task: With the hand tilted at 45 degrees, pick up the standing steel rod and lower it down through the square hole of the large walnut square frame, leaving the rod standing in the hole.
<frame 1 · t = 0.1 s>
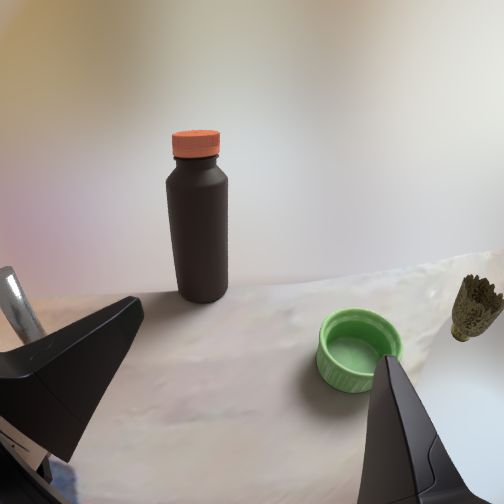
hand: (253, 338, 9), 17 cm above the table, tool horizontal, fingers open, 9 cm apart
steel rod: (56, 369, 22), on the table
bottle: (203, 288, 36), on the table
ramekin: (350, 364, 27), on the table
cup: (458, 335, 29), on the table
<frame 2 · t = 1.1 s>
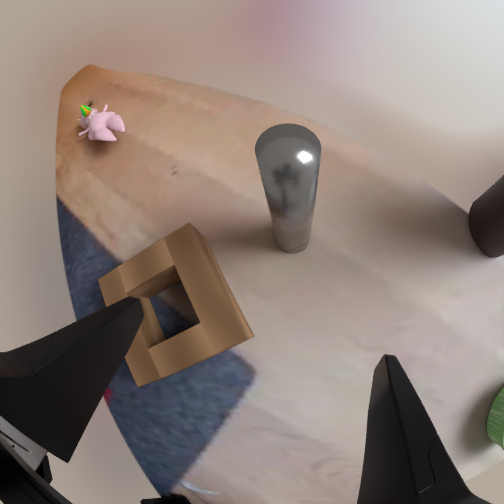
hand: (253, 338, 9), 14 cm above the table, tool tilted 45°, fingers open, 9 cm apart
steel rod: (292, 236, 24), on the table
bottle: (487, 228, 21), on the table
walnut square frame: (180, 310, 24), on the table
rabbit figure: (106, 131, 33), on the table
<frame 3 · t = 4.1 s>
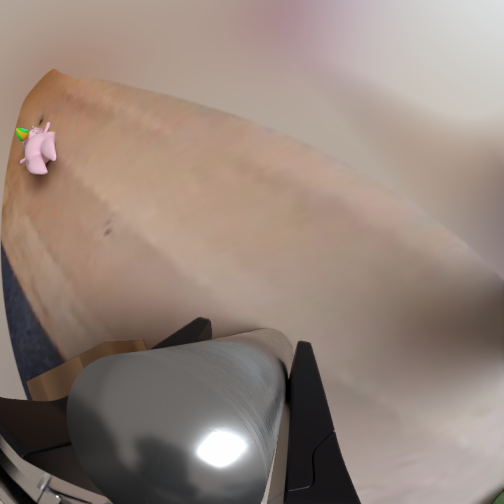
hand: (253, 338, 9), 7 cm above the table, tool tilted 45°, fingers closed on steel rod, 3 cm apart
steel rod: (266, 353, 15), on the table, touching gripper
walnut square frame: (122, 424, 15), on the table
rabbit figure: (49, 156, 24), on the table
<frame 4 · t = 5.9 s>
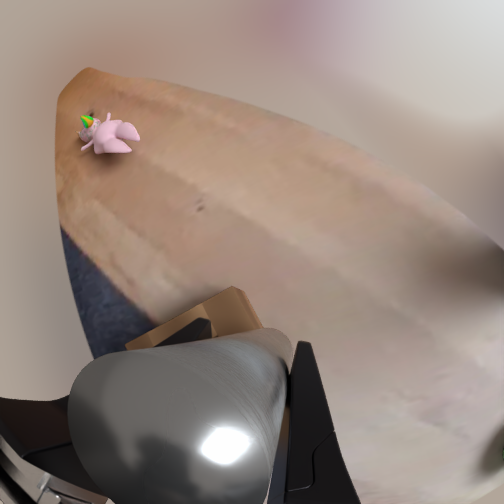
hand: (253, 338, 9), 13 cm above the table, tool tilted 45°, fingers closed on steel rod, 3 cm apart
steel rod: (266, 353, 15), point 6 cm above the table, touching gripper
walnut square frame: (219, 370, 21), on the table
rabbit figure: (113, 142, 30), on the table
when the fingers open (9 cm above the table, at t = 7.7 s): steel rod drops 2 cm, resting in walnut square frame.
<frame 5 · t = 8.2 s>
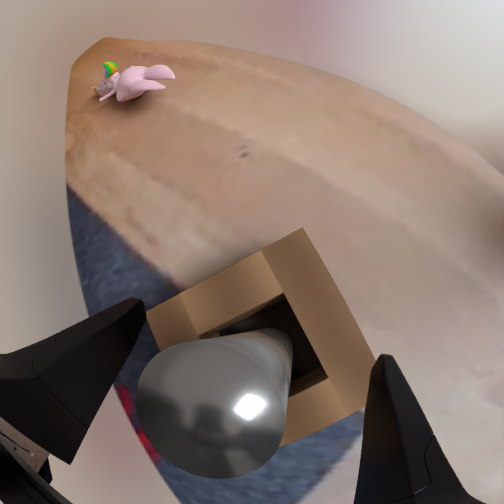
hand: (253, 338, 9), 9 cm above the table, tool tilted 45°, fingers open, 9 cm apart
steel rod: (269, 350, 17), resting in walnut square frame
walnut square frame: (269, 350, 17), on the table
rabbit figure: (136, 94, 26), on the table
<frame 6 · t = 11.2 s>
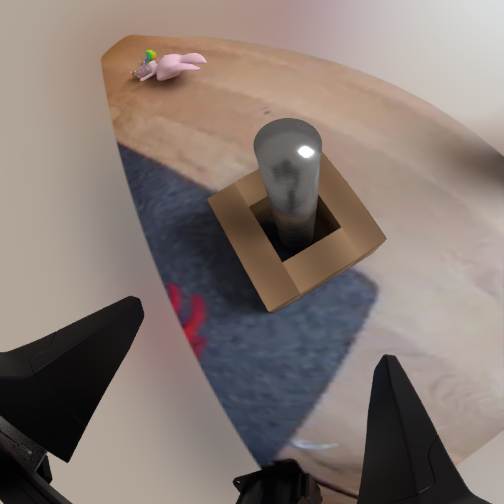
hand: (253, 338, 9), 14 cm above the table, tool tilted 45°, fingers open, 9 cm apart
steel rod: (296, 233, 24), resting in walnut square frame
walnut square frame: (295, 233, 24), on the table
rabbit figure: (170, 76, 33), on the table
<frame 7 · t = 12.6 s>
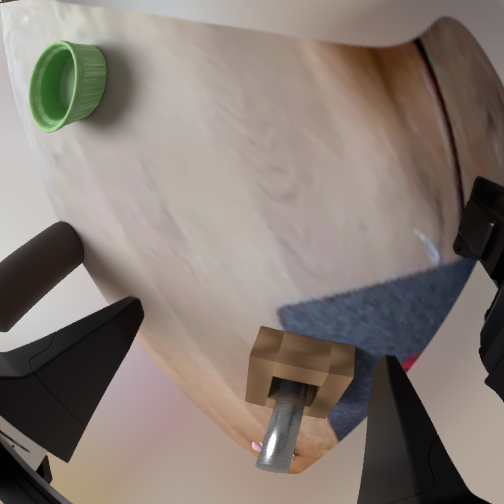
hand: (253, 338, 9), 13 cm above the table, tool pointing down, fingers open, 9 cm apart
steel rod: (299, 364, 29), resting in walnut square frame
bottle: (70, 242, 31), on the table
walnut square frame: (299, 364, 29), on the table
ramekin: (84, 81, 19), on the table
rabbit figure: (277, 443, 46), on the table
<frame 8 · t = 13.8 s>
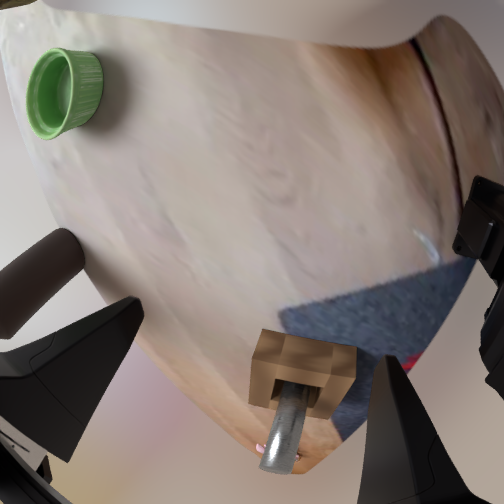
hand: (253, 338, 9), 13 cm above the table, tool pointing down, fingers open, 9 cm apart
steel rod: (301, 365, 29), resting in walnut square frame
bottle: (70, 248, 31), on the table
walnut square frame: (301, 366, 29), on the table
ramekin: (80, 88, 19), on the table
rabbit figure: (282, 444, 45), on the table
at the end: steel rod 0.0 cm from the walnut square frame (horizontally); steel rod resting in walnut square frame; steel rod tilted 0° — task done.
